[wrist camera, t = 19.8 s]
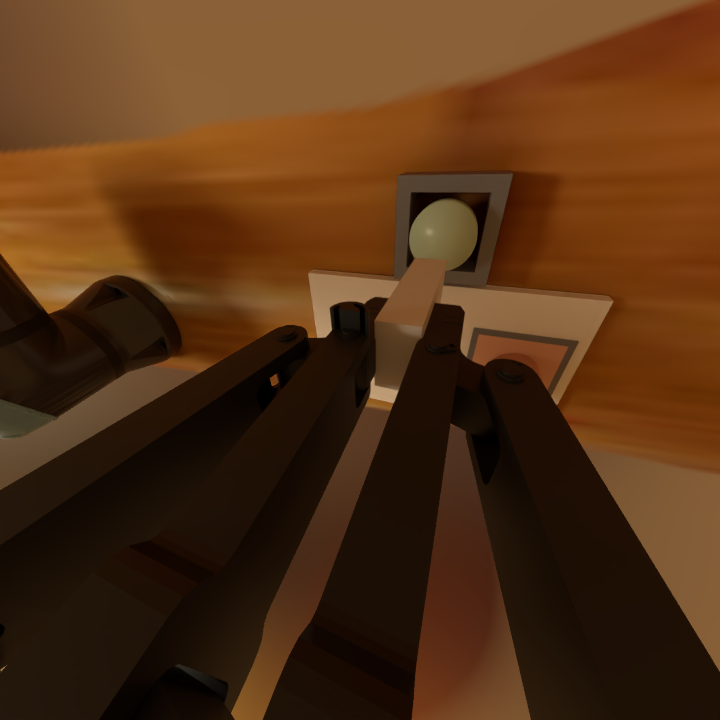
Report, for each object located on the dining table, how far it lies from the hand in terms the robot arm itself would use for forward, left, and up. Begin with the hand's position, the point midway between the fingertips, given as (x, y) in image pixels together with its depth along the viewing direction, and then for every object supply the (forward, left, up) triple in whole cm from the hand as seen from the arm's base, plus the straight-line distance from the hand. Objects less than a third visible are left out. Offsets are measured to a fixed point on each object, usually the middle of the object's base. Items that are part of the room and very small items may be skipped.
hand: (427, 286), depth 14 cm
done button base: (0, 0, -14) cm, 14 cm away
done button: (0, 0, -12) cm, 12 cm away
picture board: (+12, -6, -14) cm, 20 cm away
